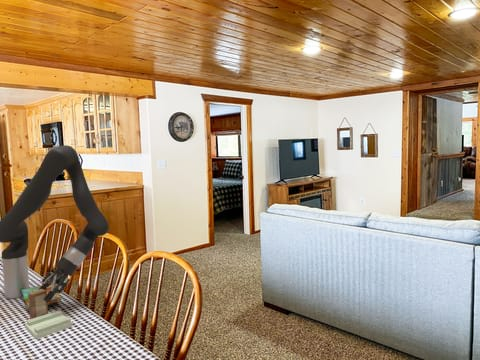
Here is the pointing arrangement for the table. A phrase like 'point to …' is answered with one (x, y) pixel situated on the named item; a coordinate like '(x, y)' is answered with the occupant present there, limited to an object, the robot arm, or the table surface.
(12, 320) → the table surface
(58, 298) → the puzzle game
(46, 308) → the wooden block
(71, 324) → the plinth
